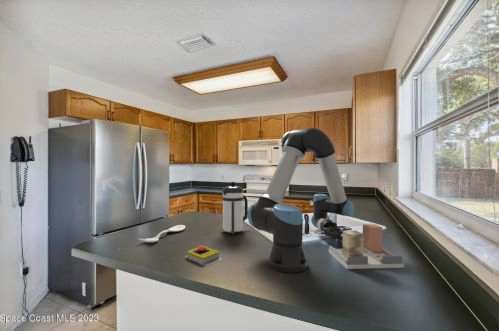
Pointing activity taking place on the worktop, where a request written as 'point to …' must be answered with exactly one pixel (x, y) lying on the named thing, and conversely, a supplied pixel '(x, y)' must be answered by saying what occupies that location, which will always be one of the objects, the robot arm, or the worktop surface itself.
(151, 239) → the spoon
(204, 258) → the emergency button
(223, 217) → the coffee press
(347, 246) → the maple slider
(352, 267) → the base
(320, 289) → the worktop surface
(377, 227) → the terracotta slider
